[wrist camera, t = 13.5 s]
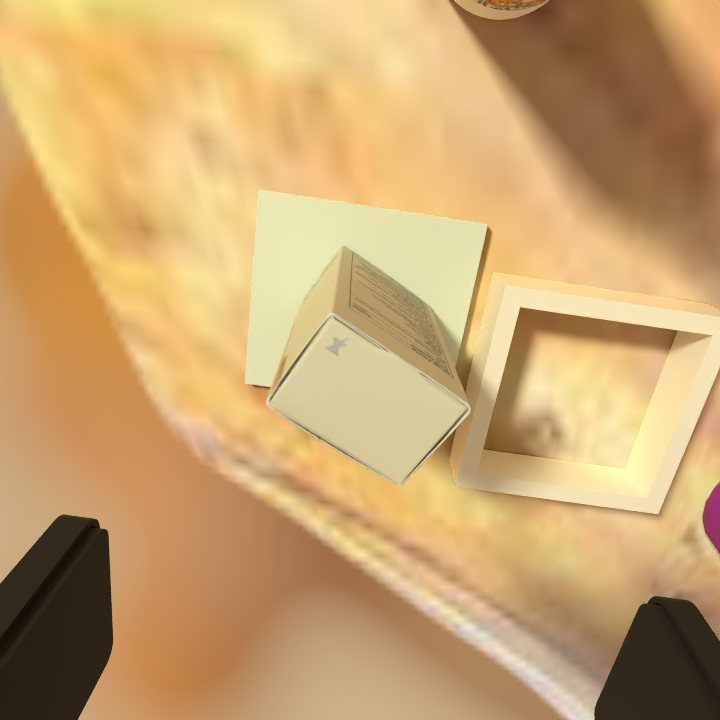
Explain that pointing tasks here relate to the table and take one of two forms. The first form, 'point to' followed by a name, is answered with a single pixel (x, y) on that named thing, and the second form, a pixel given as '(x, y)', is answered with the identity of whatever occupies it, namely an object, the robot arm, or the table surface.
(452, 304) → the mat
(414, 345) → the skincare box
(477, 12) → the bath foam
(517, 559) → the table surface
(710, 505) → the beverage can
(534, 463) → the collar
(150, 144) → the table surface
